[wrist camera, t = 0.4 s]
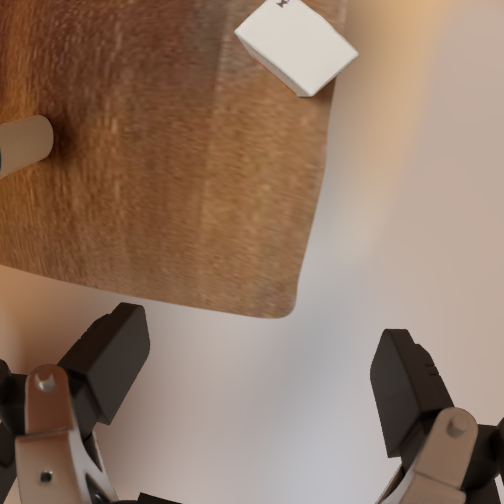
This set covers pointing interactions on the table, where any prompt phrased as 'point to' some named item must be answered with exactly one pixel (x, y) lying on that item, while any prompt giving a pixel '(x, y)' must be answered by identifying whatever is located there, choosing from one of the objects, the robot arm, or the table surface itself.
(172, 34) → the table surface
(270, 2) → the cosmetic box
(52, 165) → the table surface
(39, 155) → the white jar
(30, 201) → the table surface
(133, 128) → the table surface
